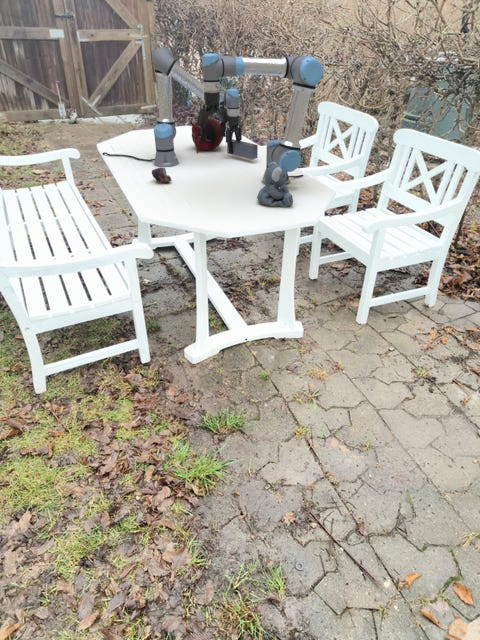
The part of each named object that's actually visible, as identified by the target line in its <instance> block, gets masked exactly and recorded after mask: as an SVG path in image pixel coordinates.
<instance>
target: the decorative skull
mask: <svg viewBox="0 0 480 640" xmlns="http://www.w3.org/2000/svg"><path fill="white" fill-rule="evenodd" d="M189 123H190V125H191V140H192V142H193V144H194V146H195V148H196V153H197V154H198V153H199V150H201V151H213V150H215V149H216V148H218V147H219V146H220V145H221V144H222V141H223V140H224V137H222V136H221V128H220V122H219V121H217V120H216V119H215V118H210V117H209V118H208V120H207V122H206V124H205V126H204V127H205V128H206V142H203V141H201V134H200V127H198V126H196V123H197V121H196V122H195V123H193V121H192V120H189Z"/></svg>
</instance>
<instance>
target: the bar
mask: <svg viewBox="0 0 480 640" xmlns="http://www.w3.org/2000/svg"><path fill="white" fill-rule="evenodd" d="M232 145H233V154H230V153H229V148H228V143H226V150H227V151H226V152H227V154H229V155H232V156H237V157H239V158H240V157H241V158H244V159H248V160H255V159H258V156H259V155H258V152H259V151H258V147H259V145H258V144H255V143H251V142H246V141H242V140H240V141H238V140H236V139H233V138H232Z"/></svg>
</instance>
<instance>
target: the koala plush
mask: <svg viewBox="0 0 480 640" xmlns="http://www.w3.org/2000/svg"><path fill="white" fill-rule="evenodd" d="M288 176H289V175H288ZM288 176H287V175H286V174H285V171H284V170H283V169H282V167H281V166H280V165H277V164H276V163H275V162H272V163H269V167H268V171H267V174H266V184H264V186H263V187H262V188H260V190H259V191H258V193H257V196H256V200H257V201H258V203H260V204H263V205H264V206H267V207H281V208H282V207H285V208H286V207H291V206H292V205H293V204H294V196H293V193H291V192H290V190H289V187H288V184H285V185H284V183H285V182H286V181H287V180H288Z"/></svg>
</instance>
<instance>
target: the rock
mask: <svg viewBox="0 0 480 640" xmlns="http://www.w3.org/2000/svg"><path fill="white" fill-rule="evenodd" d="M151 175H152V177H153V179H154V180H155V181H156V182H157V183H170V182H172V177H171V176H170V175H168V174H167V170H166V167H161V166H159V167H157V168H154V169H152V170H151Z"/></svg>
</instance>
